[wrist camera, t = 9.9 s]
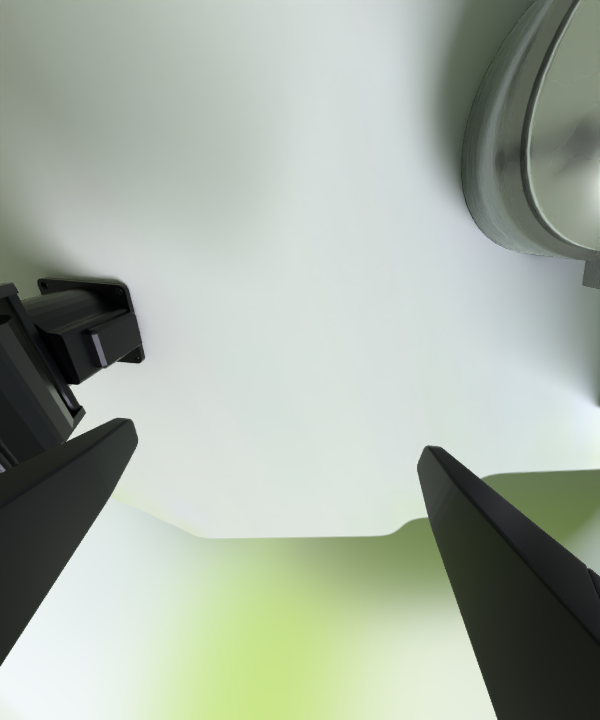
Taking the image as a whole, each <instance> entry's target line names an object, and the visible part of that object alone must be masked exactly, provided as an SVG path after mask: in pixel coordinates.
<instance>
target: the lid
mask: <svg viewBox="0 0 600 720" xmlns="http://www.w3.org/2000/svg"><path fill="white" fill-rule="evenodd" d="M520 174H521V180H522V186H523V191H524V194H525V197H526V200H527V203H528V206H529V208H530V210H531V212H532V213H533V215H534V217H535V219H536V220H537V221H538V222H539V224H540V225H541V226H542V227H543V228H544V230H546V231H547V232H548V233H549V234H551V235H552V236H553V237H554V238H556V239H558V240H560V241H561V242H563V243H565V244H567V245H571V246H574V247H577V248H580V249H587V250H595V251H600V0H573V2H572V4H571V6H570V7H569V9H568V11H567V12H566V14H565V16H564V17H563V19H562V21H561V23H560V24H559V26H558V28H557V30H556V33H555V35H554V37H553V39H552V41H551V43H550V45H549V47H548V49H547V51H546V53H545V55H544V58H543V60H542V63H541V66H540V68H539V71H538V73H537V76H536V78H535V81H534V84H533V87H532V91H531V94H530V97H529V101H528V104H527V107H526V112H525V117H524V122H523V127H522V134H521V145H520Z"/></svg>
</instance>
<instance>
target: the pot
mask: <svg viewBox="0 0 600 720" xmlns="http://www.w3.org/2000/svg"><path fill="white" fill-rule="evenodd" d="M572 2H573V0H535V1H534V2H533V3H532V5H531V6H530V7H529V8H528V9H527V10H526V11H525V13H524V14H523V15H522V17H521V18H520V19H519V21H518V22H517V23H516V25H515V26H514V27H513V29H512V30H511V31H510V33H509V34H508V36H507V37H506V39H505V41H504V42H503V44H502V45H501V47H500V48H499V50H498V52H497V53H496V55H495V57H494V59H493V61H492V63H491V64H490V66H489V68H488V70H487V72H486V74H485V76H484V78H483V80H482V83H481V85H480V88H479V90H478V92H477V95H476V97H475V100H474V103H473V106H472V109H471V112H470V115H469V119H468V123H467V127H466V132H465V136H464V142H463V151H462V183H463V191H464V195H465V199H466V203H467V206H468V208H469V211H470V213H471V215H472V218H473V219H474V221H475V222H476V224H477V225H478V227H479V228H480V229H481V230H482V232H483V233H484V234H485V235H486V236H487V237H488V238H490V239H491V240H492V241H494V242H495V243H496V244H498V245H500V246H502V247H504V248H506V249H509V250H512V251H516V252H519V253H526V254H534V255H543V256H552V257H560V258H569V259H578V260H586V263H585V270H584V277H583V284H582V285H584V286H589V287H593V288H598V289H600V251H595V250H587V249H580V248H577V247H574V246H571V245H567V244H565V243H563V242H561V241H560V240H558V239H556V238H554V237H553V236H552V235H551V234H549V233H548V232H547V231H546V230H544V228H543V227H542V226H541V225H540V224H539V222H538V221H537V220H536V219H535V217H534V215H533V213H532V212H531V210H530V208H529V206H528V203H527V200H526V197H525V194H524V191H523V186H522V180H521V174H520V145H521V134H522V127H523V122H524V117H525V112H526V107H527V104H528V101H529V97H530V94H531V91H532V87H533V84H534V81H535V78H536V76H537V73H538V71H539V68H540V66H541V63H542V60H543V58H544V55H545V53H546V51H547V49H548V47H549V45H550V43H551V41H552V39H553V37H554V35H555V33H556V30H557V28H558V26H559V24H560V23H561V21H562V19H563V17H564V16H565V14H566V12H567V11H568V9H569V7H570V6H571V4H572Z"/></svg>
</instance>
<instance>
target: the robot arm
mask: <svg viewBox="0 0 600 720" xmlns="http://www.w3.org/2000/svg"><path fill="white" fill-rule="evenodd" d="M37 283H38V286H39V289H40V291H41V294H42V295H41V296H37V297H33V298H29V299H25V300H21V301H20V299H19V297H18V295H17V293H19V292H18V291H17V289H16V287H15V285H14V283H0V666H1V665H2V663H3V662H4V660H5V658H6V657H7V655H8V654H9V652H10V651H11V649H12V648H13V646H14V645H15V643H16V641H17V640H18V638H19V637H20V635H21V634H22V632H23V631H24V629H25V628H26V626H27V625H28V623H29V621H30V620H31V618H32V617H33V615H34V614H35V612H36V611H37V609H38V608H39V606H40V604H41V603H42V601H43V599H44V598H45V596H46V595H47V594H48V592H49V590H50V589H51V587H52V586H53V584H54V583H55V581H56V580H57V578H58V577H59V575H60V573H61V572H62V570H63V569H64V567H65V566H66V564H67V562H68V561H69V560H70V558H71V556H72V555H73V553H74V552H75V550H76V548H77V547H78V546H79V544H80V543H81V541H82V539H83V538H84V536H85V535H86V533H87V532H88V530H89V528H90V527H91V525H92V524H93V522H94V521H95V519H96V518H97V516H98V515H99V513H100V512H101V510H102V508H103V507H104V505H105V504H106V502H107V501H108V499H109V497H110V496H111V494H112V492H113V491H114V489H115V487H116V485H117V483H118V481H119V479H120V478H121V476H122V474H123V472H124V470H125V468H126V466H127V464H128V462H129V460H130V458H131V457H132V455H133V453H134V451H135V449H136V447H137V444H138V436H137V433H136V429H135V426H134V423H133V421H132V420H131V419H127V418H115V419H113V420H111V421H109V422H107V423H104V424H102V425H100V426H98V427H96V428H94V429H92V430H90V431H88V432H86V433H84V434H81V435H79V436H77V437H75V438H73V439H71V440H69V441H67V439H68V438H69V437H70V435H71V434H72V432H73V431H74V429H75V428H76V427H77V425H78V424H79V422H80V421H81V419H82V418H83V416H84V415H85V414H86V412H85V410H84V408H83V406H80V405H79V403H78V401H77V399H76V398H75V396H74V394H73V392H72V390H71V389H70V387H69V386H71V385H72V384H74V385H78V384H80V383H82V382H83V381H85V380H86V379H88V378H89V377H91V376H92V375H94V374H95V373H97V372H98V371H100V370H101V369H103V368H107V367H109V366H110V365H112V364H113V363H115V362H127V363H141V362H142V361H143V360H144V359H145V355H144V351H143V347H142V341H141V336H140V332H139V328H138V324H137V320H136V315H135V313H134V309H133V305H132V301H131V297H130V293H129V290H128V288H127V287H126V286H125V285H123V284H116V283H105V282H93V281H81V280H70V279H58V278H41V279H39V280H38V282H37ZM46 284H47V285H48V286H47V285H46ZM119 289H121V290H122V294H121V293H120V291H119ZM136 356H138V357H139V358H137V357H136ZM66 441H67V442H66ZM417 472H418V476H419V480H420V484H421V489H422V493H423V497H424V501H425V505H426V509H427V514H428V517H429V521H430V525H431V528H432V531H433V534H434V537H435V540H436V543H437V546H438V548H439V551H440V554H441V557H442V560H443V563H444V566H445V569H446V572H447V575H448V577H449V580H450V583H451V586H452V589H453V592H454V595H455V598H456V600H457V604H458V607H459V609H460V612H461V615H462V618H463V621H464V624H465V627H466V630H467V633H468V635H469V638H470V641H471V644H472V647H473V650H474V653H475V656H476V658H477V662H478V665H479V667H480V670H481V673H482V676H483V679H484V682H485V685H486V687H487V690H488V694H489V696H490V699H491V702H492V705H493V708H494V711H495V714H496V717H497V720H600V576H599V575H597V574H596V573H595V572H594V571H593V570H591V569H590V568H587V567H586V565H585V564H584V563H583V562H581V561H580V560H579V559H578V558H577V557H575V556H574V555H573V554H572V553H570V552H569V551H568V550H567V549H566V548H564V547H563V546H562V545H561V544H559V543H558V542H557V541H556V540H555V539H553V538H552V537H551V536H550V535H548V534H547V533H546V532H545V531H543V530H542V529H541V528H540V527H539V526H537V525H536V524H535V523H534V522H532V521H531V520H530V519H529V518H527V517H526V516H525V515H524V514H523V513H521V512H520V511H519V510H517V509H516V508H515V507H514V506H513V505H512V504H510V503H509V502H508V501H507V500H505V499H504V498H503V497H502V496H501V495H499V494H498V493H497V492H495V491H494V490H493V489H492V488H491V487H490V486H488V485H487V484H486V483H485V482H483V481H482V480H481V479H480V478H479V477H477V476H476V475H475V474H474V473H472V472H471V471H470V470H469V469H467V468H466V467H465V466H464V465H463V464H461V463H460V462H459V461H458V460H456V459H455V458H454V457H453V456H452V455H450V454H449V453H448V452H447V451H445V450H444V449H443V448H441V447H439V446H429V445H428V446H426V447H425V448H424V450H423V452H422V454H421V457H420V459H419V461H418V464H417Z"/></svg>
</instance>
